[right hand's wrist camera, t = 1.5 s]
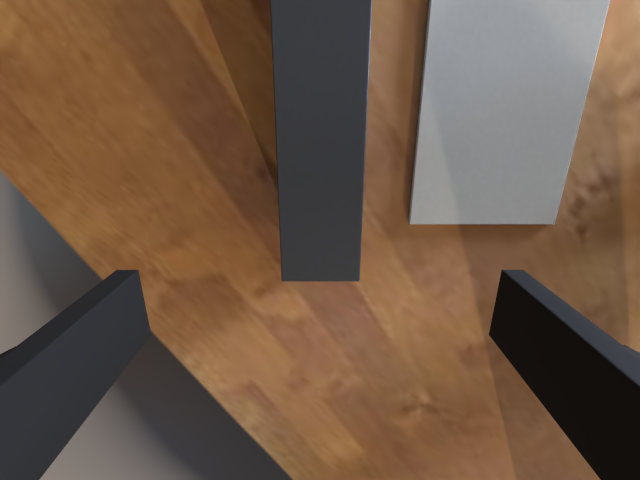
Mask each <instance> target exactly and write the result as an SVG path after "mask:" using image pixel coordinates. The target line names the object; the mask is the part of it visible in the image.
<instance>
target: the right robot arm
mask: <svg viewBox="0 0 640 480" xmlns="http://www.w3.org/2000/svg"><path fill="white" fill-rule="evenodd" d="M150 335H151V332H150V327H149V322H148V317H147V312H146V307H145V302H144V297H143V292H142V287H141V282H140V277H139V272H138V270H116V271H115V272H114V273H112V274H111V275H110V276H108V277H107V278H106V279H105V280H103V281H102V282H101V283H99V284H98V285H97V286H95V287H94V288H93V289H91V290H90V291H89V292H87V293H86V294H85V295H84V296H82V297H81V298H80V299H78V300H77V301H76V302H74V303H73V304H72V305H70V306H69V307H68V308H66V309H65V310H64V311H63V312H61V313H60V314H59V315H57V316H56V317H55V318H53V319H52V320H51V321H49V322H48V323H47V324H45V325H44V326H43V327H41V328H40V329H39V330H38V331H36V332H35V333H34V334H32V335H31V336H30V337H28V338H27V339H26V340H24V341H23V342H22V343H20V344H19V345H18V346H16V347H14V348H12V349H10V350H8V351H6V352H4V353H2V354H0V480H39V479H40V478H41V477H42V475H43V474H44V473H45V471H46V470H47V469H48V468H49V466H50V465H51V464H52V462H53V461H54V460H55V459H56V457H57V456H58V455H59V453H60V452H61V451H62V449H63V448H64V447H65V446H66V444H67V443H68V442H69V440H70V439H71V438H72V436H73V435H74V434H75V433H76V431H77V430H78V429H79V427H80V426H81V425H82V423H83V422H84V421H85V420H86V418H87V417H88V416H89V414H90V413H91V412H92V411H93V409H94V408H95V407H96V405H97V404H98V403H99V401H100V400H101V399H102V398H103V396H104V395H105V394H106V392H107V391H108V390H109V389H110V387H111V386H112V385H113V383H114V382H115V381H116V379H117V378H118V377H119V376H120V374H121V373H122V372H123V370H124V369H125V368H126V366H127V365H128V364H129V363H130V361H131V360H132V359H133V357H134V356H135V355H136V353H137V352H138V351H139V350H140V348H141V347H142V346H143V344H144V343H145V342H146V341H147V339H148V338H149V337H150ZM489 335H490V337H491V338H492V339H493V341H494V342H495V343H496V344H497V346H498V347H499V348H500V350H501V351H502V352H503V353H504V355H505V356H506V357H507V359H508V360H509V361H510V363H511V364H512V365H513V366H514V368H515V369H516V370H517V372H518V373H519V374H520V376H521V377H522V378H523V379H524V381H525V382H526V383H527V385H528V386H529V387H530V389H531V390H532V391H533V392H534V394H535V395H536V396H537V398H538V399H539V400H540V401H541V403H542V404H543V405H544V407H545V408H546V409H547V411H548V412H549V413H550V414H551V416H552V417H553V418H554V420H555V421H556V422H557V424H558V425H559V426H560V427H561V429H562V430H563V431H564V433H565V434H566V435H567V436H568V438H569V439H570V440H571V442H572V443H573V444H574V446H575V447H576V448H577V449H578V451H579V452H580V453H581V455H582V456H583V457H584V459H585V460H586V461H587V462H588V464H589V465H590V466H591V468H592V469H593V470H594V471H595V473H596V474H597V475H598V477H599V478H600V479H601V480H640V353H639V352H637V351H635V350H633V349H631V348H629V347H627V346H625V345H621V344H620V343H618V342H617V341H616V340H614V339H613V338H612V337H610V336H609V335H608V334H606V333H605V332H604V331H603V330H601V329H600V328H599V327H597V326H596V325H595V324H593V323H592V322H591V321H589V320H588V319H587V318H585V317H584V316H583V315H581V314H580V313H579V312H578V311H576V310H575V309H574V308H572V307H571V306H570V305H568V304H567V303H566V302H564V301H563V300H562V299H560V298H559V297H558V296H557V295H555V294H554V293H553V292H551V291H550V290H549V289H547V288H546V287H545V286H543V285H542V284H541V283H539V282H538V281H537V280H535V279H534V278H533V277H532V276H530V275H529V274H528V273H526V272H525V271H524V270H502V272H501V277H500V282H499V287H498V292H497V297H496V302H495V307H494V312H493V317H492V322H491V327H490V332H489Z"/></svg>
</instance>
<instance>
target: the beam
mask: <svg viewBox="0 0 640 480" xmlns="http://www.w3.org/2000/svg"><path fill="white" fill-rule="evenodd" d="M270 6H271V30H272V55H273V79H274V103H275V127H276V151H277V176H278V200H279V224H280V248H281V273H282V281H359V279H360V257H361V235H362V212H363V190H364V168H365V146H366V124H367V101H368V79H369V57H370V35H371V13H372V0H270Z"/></svg>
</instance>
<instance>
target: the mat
mask: <svg viewBox="0 0 640 480" xmlns="http://www.w3.org/2000/svg"><path fill="white" fill-rule="evenodd" d="M609 2H610V0H429V9H428V20H427V30H426V41H425V52H424V62H423V73H422V84H421V94H420V105H419V116H418V126H417V137H416V148H415V158H414V169H413V180H412V190H411V201H410V212H409V224H555V220H556V216H557V212H558V208H559V204H560V200H561V196H562V192H563V188H564V184H565V180H566V176H567V172H568V168H569V164H570V160H571V156H572V152H573V147H574V143H575V139H576V135H577V131H578V127H579V123H580V119H581V115H582V111H583V107H584V103H585V99H586V95H587V91H588V87H589V83H590V79H591V75H592V71H593V66H594V62H595V58H596V54H597V50H598V46H599V42H600V38H601V34H602V30H603V26H604V22H605V18H606V14H607V10H608V6H609Z"/></svg>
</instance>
